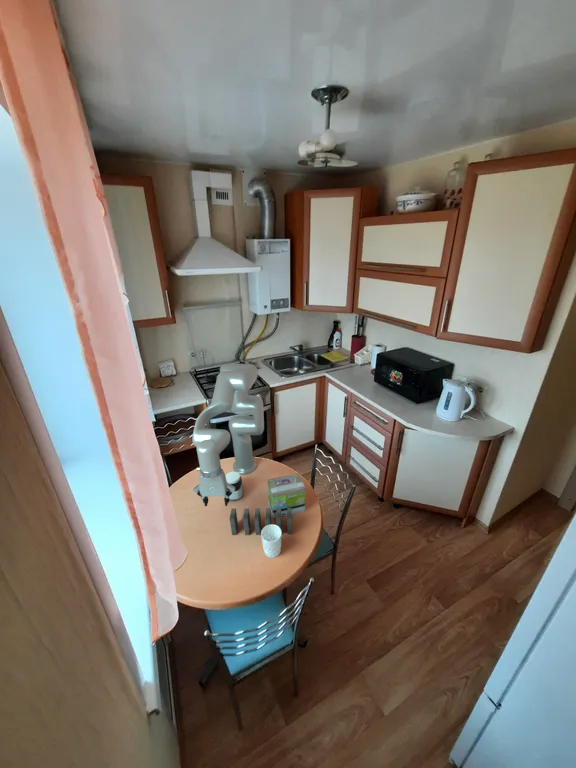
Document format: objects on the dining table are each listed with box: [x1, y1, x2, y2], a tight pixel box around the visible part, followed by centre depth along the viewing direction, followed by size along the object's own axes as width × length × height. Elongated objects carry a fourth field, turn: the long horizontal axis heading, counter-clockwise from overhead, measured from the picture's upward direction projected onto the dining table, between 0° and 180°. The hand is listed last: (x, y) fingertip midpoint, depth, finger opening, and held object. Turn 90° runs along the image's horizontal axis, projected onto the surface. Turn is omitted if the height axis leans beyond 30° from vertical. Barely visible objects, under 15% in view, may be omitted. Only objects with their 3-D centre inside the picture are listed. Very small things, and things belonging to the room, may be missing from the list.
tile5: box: [286, 508, 293, 536], centre depth 131 cm, size 5×2×10 cm, turn 0°
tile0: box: [229, 508, 239, 536], centre depth 131 cm, size 5×2×10 cm, turn 0°
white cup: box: [260, 523, 282, 559], centre depth 123 cm, size 8×8×10 cm
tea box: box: [267, 473, 306, 519], centre depth 141 cm, size 15×10×15 cm, turn 105°
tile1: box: [242, 507, 252, 536], centre depth 131 cm, size 5×2×10 cm, turn 0°
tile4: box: [275, 508, 283, 532], centre depth 131 cm, size 5×2×10 cm, turn 0°
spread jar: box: [225, 470, 244, 501], centre depth 150 cm, size 12×11×12 cm
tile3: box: [264, 507, 272, 526], centre depth 131 cm, size 5×2×10 cm, turn 0°
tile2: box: [253, 507, 262, 536], centre depth 131 cm, size 5×2×10 cm, turn 0°
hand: (216, 503), depth 127 cm, fingers open, 7 cm apart
